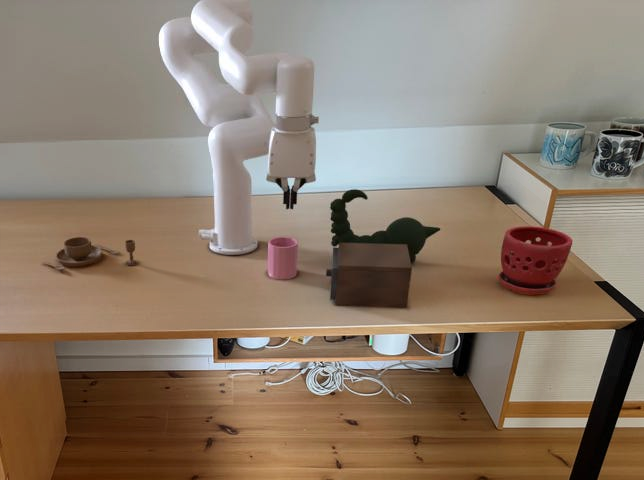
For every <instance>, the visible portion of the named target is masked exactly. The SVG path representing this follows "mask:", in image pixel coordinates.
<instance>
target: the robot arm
mask: <svg viewBox="0 0 644 480" xmlns="http://www.w3.org/2000/svg"><path fill="white" fill-rule="evenodd" d="M253 24H254V10H253V7H252V5H251V4H250V2H249V1H248V0H199V1H198V2H197V3H196V4H195V5H194V6H193V8H192V11H191V14H190V16H182V17H177V18H173V19H170V20H168V21H166V22H165V23H164V24H163V25H162V27H161V28H160V31H159V34H158V45H159V46H158V47H159V50H160V55H161V59H162V61H163V63H164V65H165V67H166V69H167V71H168V72H169V73H170V75H171V76H172V78H174V80H175V81H176V82H177V83H178V85H179V86H180V88H181V89H182V90H183V92H184V94H185V96H186V98H187V100H188V101H189V104H190V105H191V107H192V109H193V111H194V112H195V114H196V116H197V118H198V119H199V121H200V122H201V124H203V125H204V126H205V127H207V128H212V129H210V131H209V133H208V137H207V147H208V151H209V155H210V161H211V167H212V181H213V182H212V183H213V184H212V185H213V203H214V204H213V211H214V212H213V213H214V228H211V229H199V230H198V237H199V238H201V240H202V241H203V240H205V241H207V240H210V241H209V249H210V250H211V251H213V252H214V253H215V254H219V255H220V254H221V255H226V256H240V255H244V254H245V255H246V254H248V253H251V252H254V251H255V250H256V249H257V248H258V246H259V245H258V243H259V242H258V240H257V239H256V237H254V236H253V235H252V233H253V232H252V231H253V230H252V223H253V222H252V219H253V218H252V217H253V216H252V208H253V207H252V201H253V199H252V198H253V196H252V194H253V193H252V184H253V183H252V177H251V173H250V172H249V170H248V168H246V166H245V164H244V162H245V161H248V160H251V159H256V158H261V157H264V156H267V174H266V182H268V183H274V184H276V185H277V186H278V187H279V188H280V189H281V191H282V193H283V195H282V198H283V199H282V201H283V202H282V204H283V205H285V210H294V205H297V204H298V192H299V190H300V189H301V188H302V187H303V186H305V185H306V184H310V183H314V182H316V181H317V177H316V162H317V136H316V130H315V127H313V125H315V124H319V121H320V120H319V118H320V117H319V116H315V115H314V114H313V104H314V86H315V85H314V84H315V83H314V82H315V63H314V61H313V60H312V59H311V58H309V57H301V56H296V55H295V54H293V53H291V52H286V51H279V52H271V53H270V52H269V53H262V54H255V55H250V56H248V55H247V54H248V53H249V51H250V49H251V48H252V45H253V42H254V31H253V28H252V26H253ZM215 52H217V53H218V65H219V66H218V67H219V70H220V73H221V76H222V78H223V79H224V80H225V81H226V83H222V82H220V81H219V80H218V78H217V76H216V75H215V73H214V71H213V69H211V68H210V66H209V65H208V64H207V63H205V61H203V60H201V59H199V58H198V57H196V56H195V55H199V54H207V53H215ZM267 93H275V115H274V117H275V119H274V120H275V121H274V120H273V118H272V117H271V115H270V112H269V111H268V109H267V108H266V106H265V104H264V103H263V101H262V99H261V97H260V96H259V95H263V94H267ZM289 179H294V181H293V185H292V186H291V188H290V185H289Z"/></svg>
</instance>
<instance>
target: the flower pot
mask: <svg viewBox="0 0 644 480" xmlns="http://www.w3.org/2000/svg"><path fill="white" fill-rule="evenodd" d="M538 238H539V239H540V240H537V239H538ZM527 241H530V243H529V242H527ZM549 243H551V245H549ZM572 246H573V239H572V237H571V236H570V235H568V234H566V233H564V232H562V231H560V230H556V229H552V228H548V227H543V226H542V227H541V226H533V225H531V226H530V225H529V226H515V227H514V226H513V227H511V228H509V229H507V230H505V233H504V237H503V241H502V245H501V251H500V265H501V269H502V271H500V272H499V274H498V281H499V283H500V284H501V285H502V286H503V287H504V288H505V289H507V290H509V291H511V292H513V293H515V294H521V295H522V294H523V295H531V296H535V295H544V294H547V293H549V292H551V291H553V290H554V289H555V288H556V286H557V280H556V278H557V277H558V276H559V275H560V274H561V272H562V271H563V269H564V267H565V265H566V263H567V262H568V258H569V255H570V252H571V249H572Z"/></svg>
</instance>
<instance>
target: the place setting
mask: <svg viewBox="0 0 644 480" xmlns="http://www.w3.org/2000/svg"><path fill="white" fill-rule="evenodd" d="M124 248H125V251H126V252H127V253H128V254H129V255H128V259H129V260H128V261H127V262H126V265H127V266H131V267H132V266H136V265H137V264H138V261H137V260H134V255H133V254H134V252H135V251H136V241H135V240H134V239H127V240H125V241H124ZM103 250H105V251H107V252H110V254H113V255H117V254H119V253H121V251H113V250H111V249H109V248H105V247H102V246H99V245H93V244H92V241H91V239H90V238H88V237H86V236H77V237H71V238H68V239H66V240H65V241H64V242H63V248H62V249H60V250H59V251H57V252H56V253H55V261H56V262H58V263H59V264H60V265H55V264H52V263H49V262H44V265H47V266H50V267H53V268H54V269H55V270H57V271H64V270H65V267H70V268H82V267H86V266H90V265H92V264H94V263H97V262H98V261H99V260H100V259H101V258H102V256H103ZM64 266H65V267H64Z"/></svg>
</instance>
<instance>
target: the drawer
mask: <svg viewBox="0 0 644 480" xmlns="http://www.w3.org/2000/svg"><path fill="white" fill-rule="evenodd" d="M331 254H332V256H331V258H332V259H331V268H326V269H325V277H329V278H330V291H329V292H330V293H329V300H330V301H335V300H336V289H337V275H338V247H333V246H332V253H331Z"/></svg>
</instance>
